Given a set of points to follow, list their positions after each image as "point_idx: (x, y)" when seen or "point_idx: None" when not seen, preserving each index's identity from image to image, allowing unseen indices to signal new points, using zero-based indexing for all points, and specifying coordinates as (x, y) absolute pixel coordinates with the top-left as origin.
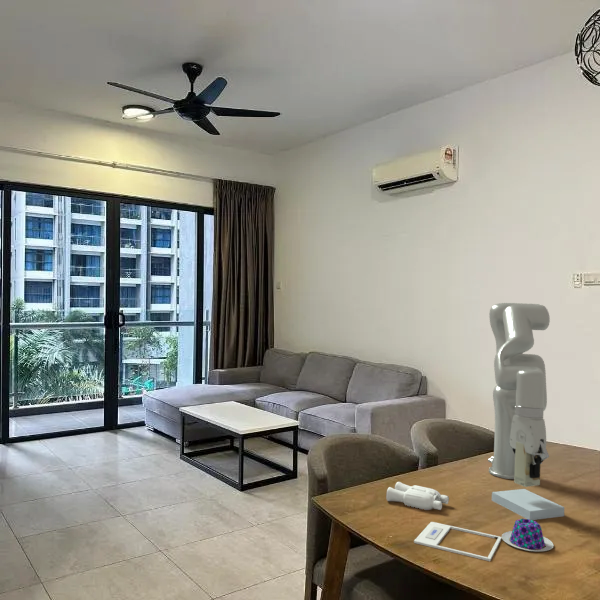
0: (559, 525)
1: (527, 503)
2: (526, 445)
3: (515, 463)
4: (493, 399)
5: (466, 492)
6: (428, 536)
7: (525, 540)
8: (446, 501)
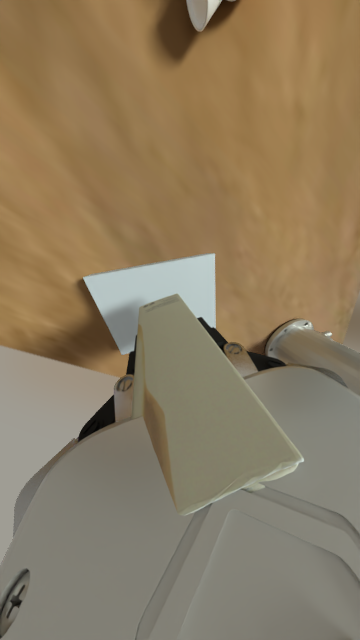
0: (72, 319)
1: (139, 298)
2: (125, 527)
3: (194, 320)
4: None
5: (259, 219)
6: None
7: None
8: None
